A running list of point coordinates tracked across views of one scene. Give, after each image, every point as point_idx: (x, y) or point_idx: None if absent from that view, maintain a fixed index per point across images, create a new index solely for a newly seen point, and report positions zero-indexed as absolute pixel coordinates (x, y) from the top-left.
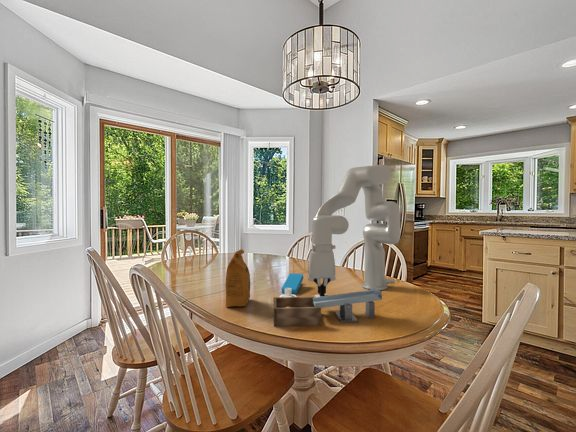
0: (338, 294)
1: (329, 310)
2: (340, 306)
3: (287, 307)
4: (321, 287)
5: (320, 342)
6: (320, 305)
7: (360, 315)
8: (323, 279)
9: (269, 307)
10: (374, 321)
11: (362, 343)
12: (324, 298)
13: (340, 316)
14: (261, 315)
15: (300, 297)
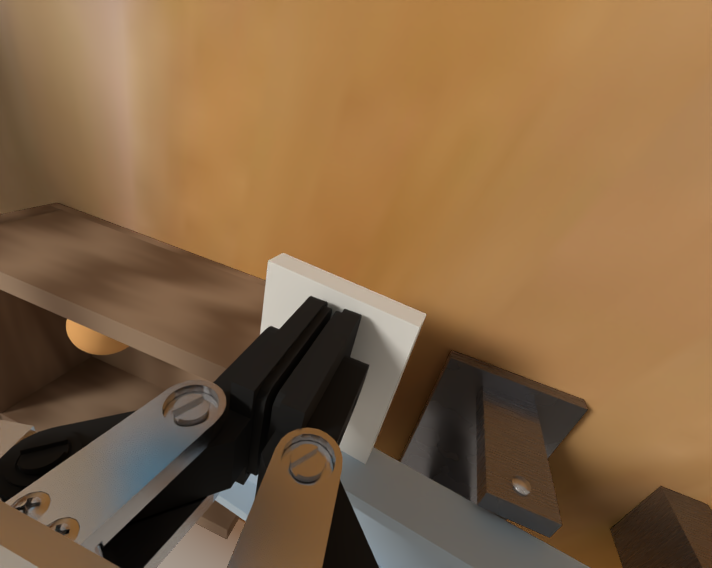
0: (442, 553)
1: (428, 309)
2: (478, 430)
3: (74, 343)
4: (249, 468)
5: (243, 520)
6: (246, 490)
7: (597, 477)
8: (239, 552)
9: (7, 72)
10: (600, 560)
11: None
12: None
13: (424, 448)
14: (7, 211)
15: (106, 331)
